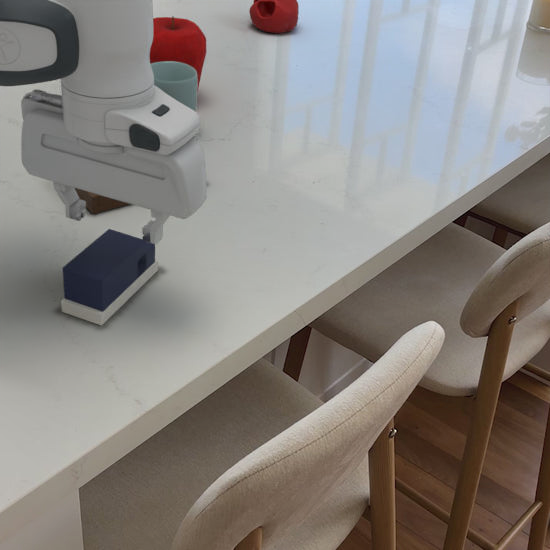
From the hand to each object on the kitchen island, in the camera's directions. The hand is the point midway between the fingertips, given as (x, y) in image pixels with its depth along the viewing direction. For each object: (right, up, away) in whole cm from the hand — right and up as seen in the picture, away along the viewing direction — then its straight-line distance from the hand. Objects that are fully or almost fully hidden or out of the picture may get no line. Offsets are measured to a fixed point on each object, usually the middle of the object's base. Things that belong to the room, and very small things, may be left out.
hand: (114, 228), depth 94 cm
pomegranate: (+17, +44, +81) cm, 94 cm away
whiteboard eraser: (-1, -7, +4) cm, 8 cm away
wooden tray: (-2, +8, +25) cm, 26 cm away
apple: (0, +23, +49) cm, 54 cm away
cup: (+1, +16, +38) cm, 41 cm away
